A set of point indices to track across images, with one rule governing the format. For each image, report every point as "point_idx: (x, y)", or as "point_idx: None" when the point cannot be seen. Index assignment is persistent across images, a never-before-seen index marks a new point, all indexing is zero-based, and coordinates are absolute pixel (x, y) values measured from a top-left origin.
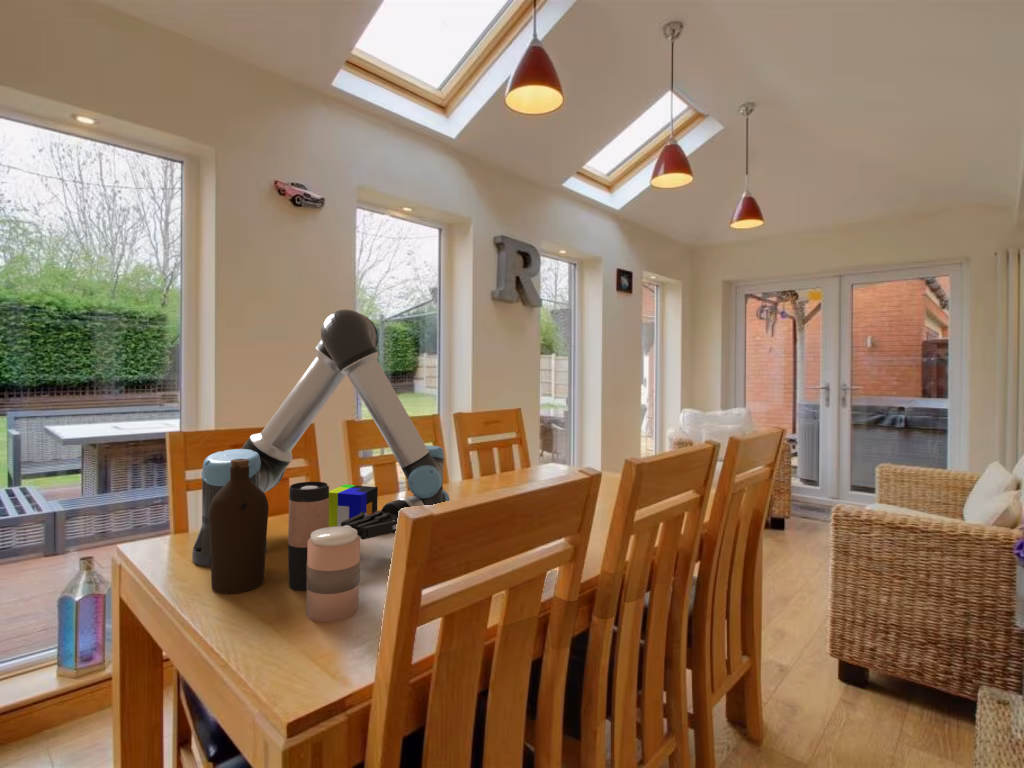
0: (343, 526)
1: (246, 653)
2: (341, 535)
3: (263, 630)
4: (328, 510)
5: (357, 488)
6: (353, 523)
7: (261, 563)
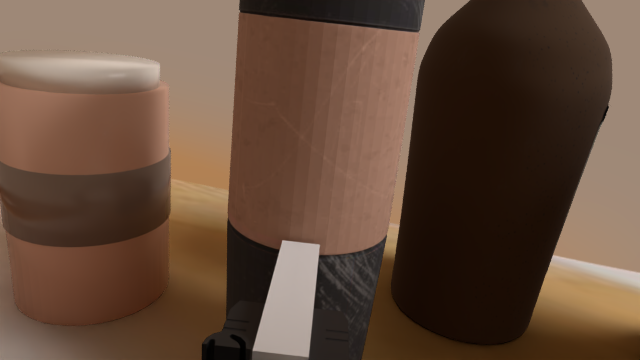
0: (304, 330)
1: (176, 190)
2: (48, 54)
3: (201, 218)
4: (246, 86)
5: None
6: (244, 342)
7: (410, 250)
